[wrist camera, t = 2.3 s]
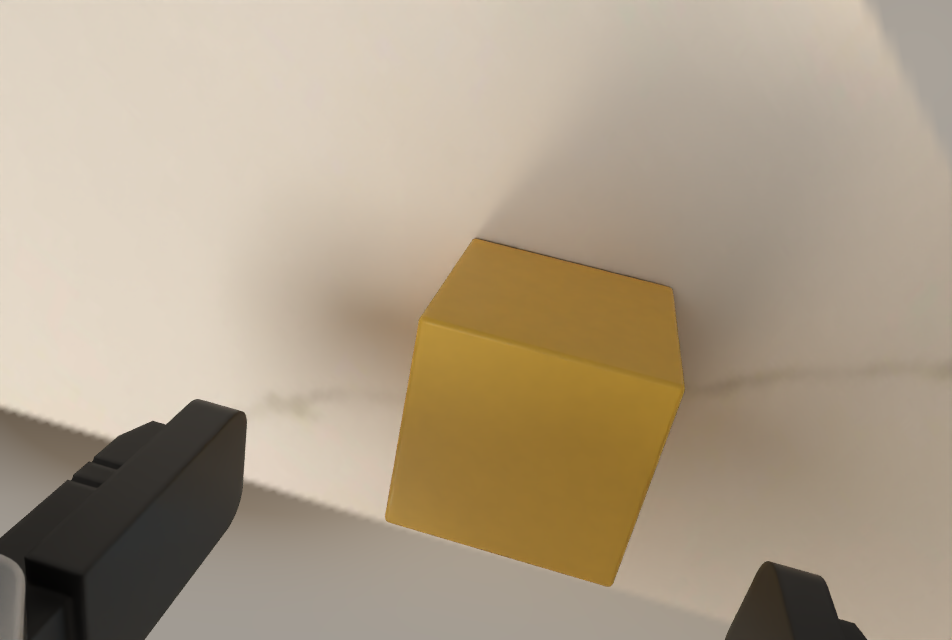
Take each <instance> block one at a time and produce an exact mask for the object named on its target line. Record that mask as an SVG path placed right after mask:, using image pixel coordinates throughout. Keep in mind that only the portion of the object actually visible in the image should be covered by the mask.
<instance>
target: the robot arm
mask: <svg viewBox="0 0 952 640" xmlns="http://www.w3.org/2000/svg"><path fill="white" fill-rule="evenodd" d="M246 429H247V419H246V415H245V413H244V412H243V411H239V410H236V409H232V408H228V407H225V406H221V405H218V404H214V403H211V402H207V401H204V400H200V399H196V400H193V401H191V402H190V403H189V404H188V405H187V406H186V407H185V408H184V409H182V410H181V411H180V412H179V413H178V414H177V415H176V416H175V417H174V418H173V419H172V420H171V421H169V422H168V423H167V424H166V425H165V424H162V423H158V422H155V421H151V422H149V423H147V424H145V425H142V426H140V427H138V428H135V429H133V430H131V431H129V432H126V433H124V434H122V435H119V436H118V437H117V438H116V439H114V440H113V441H112V442H111V443H110V444H109V445H108V446H106V447H105V448H104V449H103V450H102V451H101V452H99V453H98V454H97V455H96V456H95V457H94V460H93V461H92V462H88V463H87V464H86V465H84V466H83V467H82V468H81V469H80V470H79V471H77V472H76V473H75V474H74V475H73V478H72V480H71V481H70V480H67V481H66V482H65V483H63V484H62V485H61V486H60V487H59V488H58V489H57V490H55V491H54V492H53V493H52V494H51V495H50V496H48V498H46V499H45V500H44V501H43V502H41V503H40V504H39V505H38V506H37V507H36V508H34V509H33V510H32V511H31V512H30V513H29V514H28V515H26V516H25V517H24V518H23V519H22V520H21V521H19V522H18V523H17V524H16V525H15V526H14V527H12V528H11V529H10V530H9V531H8V532H7V533H6V534H4V535H3V536H2V537H1V538H0V640H145V638H146V637H147V636H148V634H149V633H150V632H151V630H152V629H153V628H154V626H155V625H156V624H157V622H158V621H159V620H160V618H161V617H162V616H163V614H164V613H165V612H166V610H167V609H168V608H169V606H170V605H171V604H172V602H173V601H174V599H175V598H176V597H177V596H178V594H179V593H180V592H181V590H182V589H183V587H184V586H185V585H186V584H187V582H188V581H189V580H190V578H191V577H192V576H193V574H194V573H195V572H196V570H197V569H198V568H199V566H200V565H201V564H202V562H203V561H204V560H205V558H206V557H207V556H208V554H209V553H210V552H211V550H212V549H213V548H214V546H215V545H216V544H217V542H218V541H219V540H220V538H221V537H222V535H223V534H224V533H225V532H226V530H227V529H228V527H229V526H230V524H231V522H232V520H233V518H234V516H235V514H236V512H237V509H238V506H239V503H240V499H241V495H242V488H243V474H244V459H245V444H246ZM725 640H867V639H866V638H865V636H864V635H863V634H862V632H861V631H860V630H859V628H858V627H857V626H856V625H855V624H854V623H851V622H848V621H844V620H841V619H838V616H837V613H836V610H835V607H834V604H833V601H832V598H831V595H830V592H829V589H828V586H827V584H826V582H825V580H824V579H823V578H822V577H821V576H819V575H816V574H812V573H809V572H805V571H802V570H798V569H795V568H791V567H787V566H784V565H780V564H777V563H773V562H770V561H767V562H765V563H763V564H762V565H761V567H760V568H759V570H758V571H757V573H756V575H755V578H754V580H753V582H752V584H751V586H750V588H749V590H748V592H747V594H746V596H745V598H744V600H743V602H742V604H741V606H740V608H739V610H738V612H737V614H736V616H735V618H734V620H733V622H732V624H731V626H730V628H729V630H728V633H727V635H726V638H725Z"/></svg>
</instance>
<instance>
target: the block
mask: <svg viewBox="0 0 952 640" xmlns="http://www.w3.org/2000/svg"><path fill="white" fill-rule="evenodd" d="M684 392H685V385H684V377H683V369H682V361H681V353H680V345H679V337H678V329H677V321H676V313H675V305H674V297H673V289H671V288H670V287H667V286H663V285H659V284H655V283H651V282H647V281H643V280H639V279H635V278H631V277H627V276H623V275H619V274H615V273H611V272H607V271H603V270H599V269H595V268H591V267H587V266H583V265H579V264H575V263H571V262H567V261H563V260H559V259H555V258H551V257H547V256H543V255H539V254H535V253H531V252H527V251H523V250H519V249H515V248H511V247H507V246H503V245H499V244H495V243H491V242H487V241H483V240H479V239H473V240H472V241H471V243H470V244H469V246H468V247H467V249H466V250H465V252H464V253H463V255H462V256H461V258H460V259H459V261H458V262H457V264H456V265H455V267H454V268H453V270H452V271H451V273H450V274H449V276H448V277H447V279H446V280H445V282H444V283H443V285H442V286H441V288H440V289H439V290H438V292H437V293H436V295H435V296H434V298H433V299H432V301H431V302H430V304H429V305H428V307H427V308H426V310H425V311H424V313H423V314H422V316H421V317H420V319H419V322H418V328H417V334H416V340H415V345H414V351H413V357H412V363H411V369H410V374H409V380H408V386H407V392H406V398H405V403H404V409H403V415H402V421H401V427H400V432H399V438H398V444H397V450H396V456H395V461H394V467H393V473H392V479H391V485H390V490H389V496H388V502H387V508H386V514H385V519H386V521H387V522H389V523H393V524H396V525H400V526H403V527H406V528H410V529H413V530H417V531H420V532H423V533H427V534H430V535H434V536H437V537H440V538H444V539H447V540H451V541H454V542H457V543H461V544H464V545H467V546H471V547H474V548H478V549H481V550H484V551H488V552H491V553H495V554H498V555H501V556H505V557H508V558H512V559H515V560H518V561H522V562H525V563H528V564H532V565H535V566H539V567H542V568H545V569H549V570H552V571H556V572H559V573H562V574H566V575H569V576H573V577H576V578H579V579H583V580H586V581H590V582H593V583H596V584H600V585H603V586H606V587H610V586H611V585H612V584H613V583H614V580H615V577H616V575H617V572H618V569H619V567H620V564H621V561H622V559H623V556H624V553H625V550H626V548H627V545H628V542H629V540H630V537H631V534H632V532H633V529H634V526H635V524H636V521H637V518H638V515H639V513H640V510H641V507H642V505H643V502H644V499H645V497H646V494H647V491H648V489H649V486H650V483H651V480H652V478H653V475H654V472H655V470H656V467H657V464H658V462H659V459H660V456H661V454H662V451H663V448H664V445H665V443H666V440H667V437H668V435H669V432H670V429H671V427H672V424H673V421H674V419H675V416H676V413H677V410H678V408H679V405H680V402H681V400H682V397H683V394H684Z"/></svg>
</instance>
